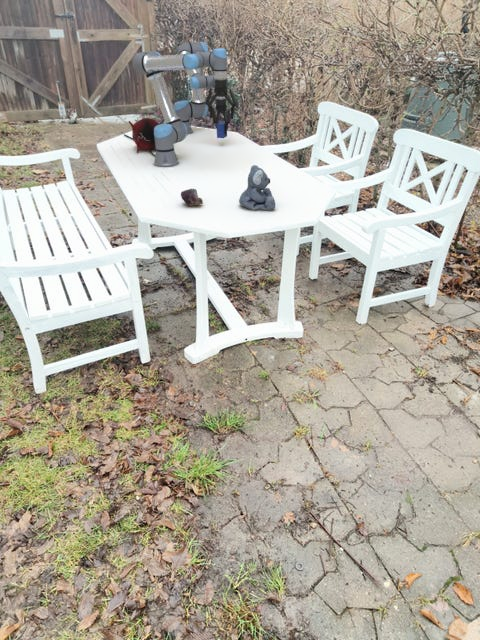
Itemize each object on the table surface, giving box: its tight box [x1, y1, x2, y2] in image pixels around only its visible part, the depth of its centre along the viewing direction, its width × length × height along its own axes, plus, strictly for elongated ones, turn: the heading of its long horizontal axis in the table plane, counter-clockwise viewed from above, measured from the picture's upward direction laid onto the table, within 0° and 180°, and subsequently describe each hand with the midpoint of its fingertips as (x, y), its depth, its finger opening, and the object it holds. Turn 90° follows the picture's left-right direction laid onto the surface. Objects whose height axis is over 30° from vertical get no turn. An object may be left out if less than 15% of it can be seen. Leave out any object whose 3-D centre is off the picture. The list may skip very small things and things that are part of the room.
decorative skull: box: [128, 117, 161, 154], centre depth 321 cm, size 21×24×25 cm
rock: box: [180, 188, 204, 207], centre depth 229 cm, size 12×9×10 cm
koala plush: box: [238, 164, 276, 211], centre depth 224 cm, size 17×18×20 cm
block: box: [216, 121, 228, 139], centre depth 327 cm, size 7×5×10 cm
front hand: (221, 118), depth 276 cm, fingers open, 13 cm apart
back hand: (222, 133), depth 328 cm, fingers closed on block, 5 cm apart
